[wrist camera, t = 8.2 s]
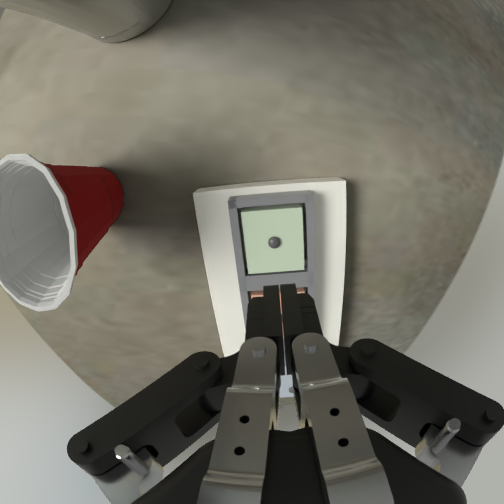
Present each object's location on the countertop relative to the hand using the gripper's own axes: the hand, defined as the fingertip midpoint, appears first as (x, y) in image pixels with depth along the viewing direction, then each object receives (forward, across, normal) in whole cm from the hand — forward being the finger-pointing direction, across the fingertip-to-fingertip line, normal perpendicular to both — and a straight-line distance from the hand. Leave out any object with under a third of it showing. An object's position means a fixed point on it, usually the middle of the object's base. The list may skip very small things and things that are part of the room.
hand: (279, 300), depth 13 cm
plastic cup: (+12, +16, -4) cm, 21 cm away
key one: (+10, 0, +1) cm, 10 cm away
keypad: (+12, 0, +8) cm, 14 cm away
